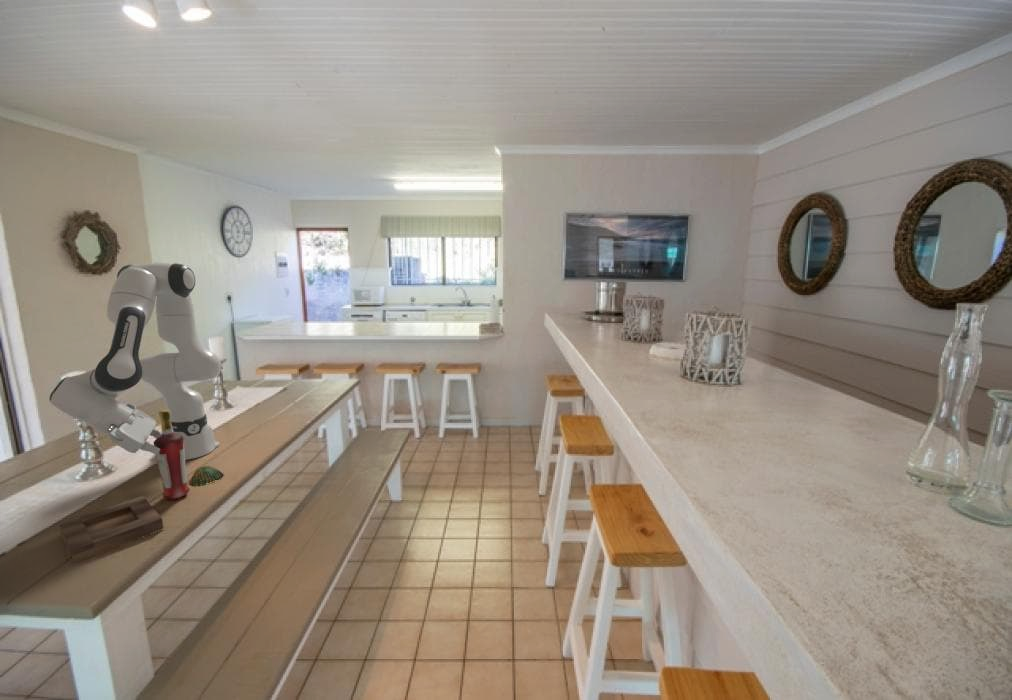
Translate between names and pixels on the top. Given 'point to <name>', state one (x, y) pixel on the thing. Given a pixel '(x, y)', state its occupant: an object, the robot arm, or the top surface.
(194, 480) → the seashell
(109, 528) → the plinth
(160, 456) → the liquor
